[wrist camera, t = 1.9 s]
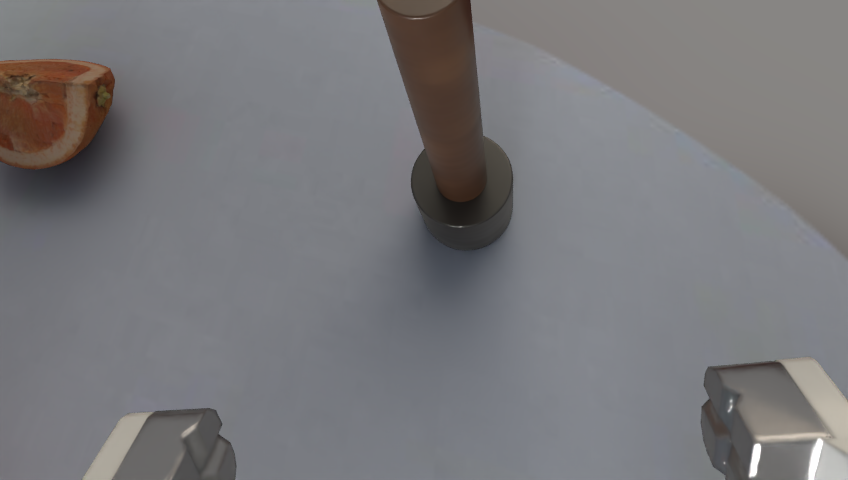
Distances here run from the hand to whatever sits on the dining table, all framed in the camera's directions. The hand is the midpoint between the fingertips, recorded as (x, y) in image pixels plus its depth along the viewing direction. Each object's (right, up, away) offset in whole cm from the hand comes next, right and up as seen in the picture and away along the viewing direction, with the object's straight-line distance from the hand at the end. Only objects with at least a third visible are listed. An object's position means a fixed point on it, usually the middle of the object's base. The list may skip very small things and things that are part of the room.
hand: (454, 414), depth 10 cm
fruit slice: (-20, +9, +25) cm, 33 cm away
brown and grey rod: (+2, +5, +20) cm, 21 cm away
